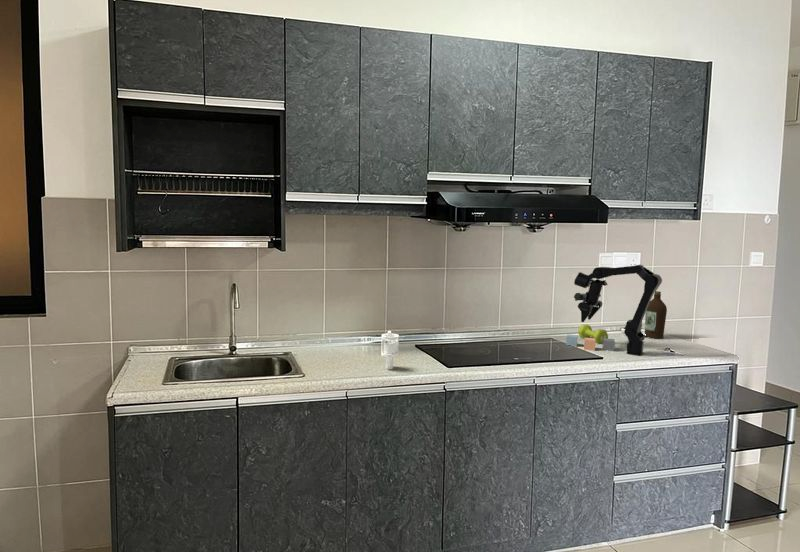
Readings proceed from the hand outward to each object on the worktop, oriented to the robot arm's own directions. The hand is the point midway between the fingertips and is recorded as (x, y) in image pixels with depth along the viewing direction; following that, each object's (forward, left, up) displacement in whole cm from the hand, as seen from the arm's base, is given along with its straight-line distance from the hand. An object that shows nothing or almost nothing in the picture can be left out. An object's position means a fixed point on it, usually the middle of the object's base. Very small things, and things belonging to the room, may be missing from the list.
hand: (585, 320), depth 299 cm
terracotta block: (-5, +7, -12) cm, 15 cm away
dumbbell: (0, -13, -13) cm, 18 cm away
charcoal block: (-13, +1, -12) cm, 18 cm away
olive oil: (-23, -45, -13) cm, 52 cm away
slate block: (+4, +5, -12) cm, 14 cm away
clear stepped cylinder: (+48, +100, -13) cm, 111 cm away
